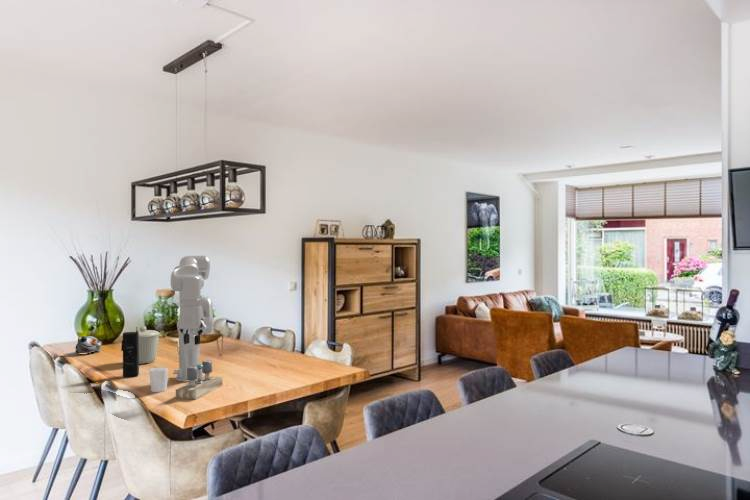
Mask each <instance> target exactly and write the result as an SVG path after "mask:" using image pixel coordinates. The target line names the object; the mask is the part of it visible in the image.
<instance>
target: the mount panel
mask: <svg viewBox="0 0 750 500" xmlns="http://www.w3.org/2000/svg"><path fill="white" fill-rule="evenodd" d="M197 381H198V379H196V380H195V387H194V388H191V387H190V382H189V383H185V384H184V385H181V386H179V387H177V388H175V399H180V400H181V399H182V400H183V399H184V400H198V399H200V398H202V397H204V396H205V395H208V394H209V393H212V392H213V391H215V390H216V389H218V388H220V387H223V377H222V376H209V380H205V375H204V376H203V377H202V381H203V383H202V384H197Z"/></svg>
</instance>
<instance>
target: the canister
mask: <svg viewBox="0 0 750 500" xmlns="http://www.w3.org/2000/svg"><path fill="white" fill-rule="evenodd" d="M137 331H138V332H139V365H146V364H145V363H147V364H151V363H153V362H155V361H156V359H157V353H158V347H159V338H160V337H159V336H160V334H161V332H159V331H157V330H153V329H147V327H146V326H145V325H143V326H142V325H141V326H140V327H139V330H137ZM133 332H136V330H134V331H133ZM150 362H151V363H150Z"/></svg>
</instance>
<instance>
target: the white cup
mask: <svg viewBox="0 0 750 500" xmlns="http://www.w3.org/2000/svg"><path fill="white" fill-rule="evenodd" d="M168 378H169V368H168V367H166V366H159V367H158V366H157V367H153V368H150V369H149V381H150V391H151V392H152V393H163V392H165V391H167V389H168V381H169V379H168Z"/></svg>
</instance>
